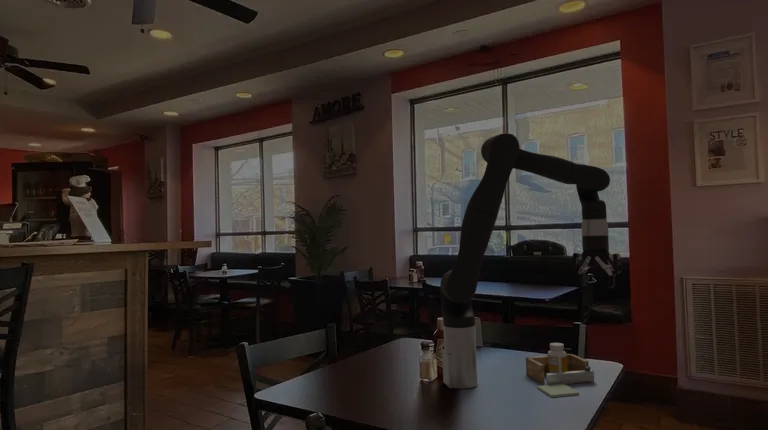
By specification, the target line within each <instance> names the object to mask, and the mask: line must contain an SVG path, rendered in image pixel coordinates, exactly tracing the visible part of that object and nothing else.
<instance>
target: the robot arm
mask: <svg viewBox="0 0 768 430" xmlns="http://www.w3.org/2000/svg"><path fill="white" fill-rule="evenodd" d="M520 147H521V146H520V142H519V139H518V138H517V137H516V136H515V135H514V134H512V133H510V132H502V133H497V134H495V135H492V136H490V137H489V138H487V139H486V140H485V141H484V142H483V143H482V145H481V148H480V151H481V152H480V153H481V157H482V158H483V160H484V162H486V166H485V171H484V173H483V175H482V176H483V177H482V178H481V180H480V182H479V184H478V186H477V187H476V188H475V190H474V191H473V194H472V195H471V197H470V199H469V201H468V204H467V205H466V209H465V212H464V214H463V217H462V222H461V226H460V236H459V247H458V252H457V256H456V260H455V261H454V263H453V267H452V269H450V270H448V271H447V272H445V273H444V274H443V276H442V277H441V279H440V287H439V291H440V292H439V293H440V307H441V308H440V309H441V316H442V323H443V347H444V349H442V350H441V351H442V353H441V354H442V379H443V384H445V385H446V387H448V389H459V390H460V389H472V388H475V387H476V386H478V365H477V364H478V362H477V340H476V339H477V338H476V336H477V333H476V316H475V314H474V311H473V305H472V304H473V303H472V299H473V297H474V296H475V294H476V292H477V287H478V282H479V277H480V273H481V272H480V271H481V268H482V267H481V266H482V262H483V260H484V257H485V254H486V252H487V248H488V245H489V244H490V239H491V238H492V233H493V231H494V228H495V225H496V221H497V218H498V215H499V211H500V208H501V204H502V202H503V198H504V194H505V191H506V187H507V184H508V181H509V179H510V176H511V174H512V171H513V169H515V170H518V171H519V170H520V171H523V172H526V173H531V174H534V175H537V176H540V177H543V178H546V179H549V180H552V181H554V182H558V183H561V184H564V185H565V184H566V185H575V188H576V191H577V195H578V198H579V202H580V205H581V242H582V243H581V245H582V247H581V249H582V252H581V253H580V252H574V253H572V272H573V273H577V274H578V284H579V285H580V287H586V286H587V274H586V272H587V271H588V269H590V268H600V269H601V268H602V269H603V270H604V271H605V273H607V274H608V275H607V284H608V286H607V287H608V289H614V287H615V286H616V275H618V274H622V271H623V270H622V269H623V267H622V261H621V254H620V253H618V252H617V253H610V245H609V242H610V240H609V233H610V231H609V224H608V220H607V215H608V214H607V203H606V201H604V200H602V199H600V197H599V192H602V191H605V190H606V189H608V187H609V186H610V183H611V177H610V175H609V173H608V172H607V171H606V170H605V169H603V168H601V167H598V166H594V165H588V164H583V163H577V162H574V161H572V160H568V159H565V158H563V157H560V156H556V155H551V154H546V153H545V154H544V153H538V152H533V151H529V150H525V149H522V148H520ZM582 259H583V261H584V262H583V263H582V265H581V260H582ZM610 260H611V261H612V262H613V266H612V264H611V263H610V262H609V261H610Z"/></svg>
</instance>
